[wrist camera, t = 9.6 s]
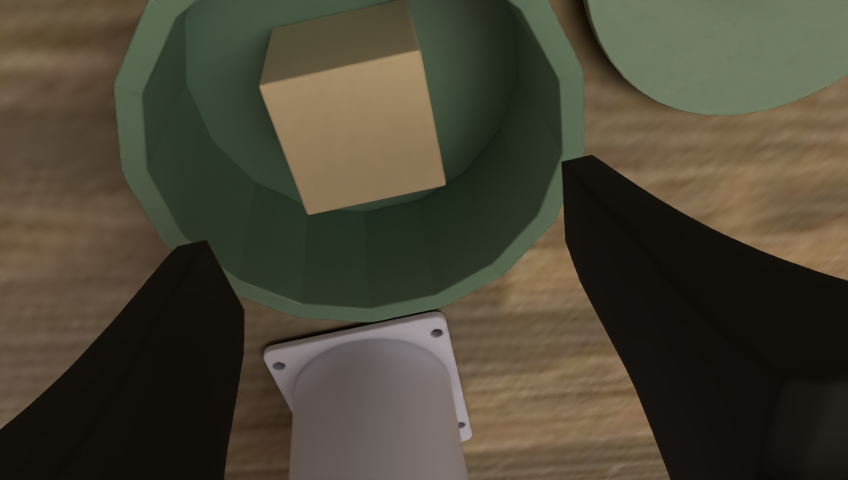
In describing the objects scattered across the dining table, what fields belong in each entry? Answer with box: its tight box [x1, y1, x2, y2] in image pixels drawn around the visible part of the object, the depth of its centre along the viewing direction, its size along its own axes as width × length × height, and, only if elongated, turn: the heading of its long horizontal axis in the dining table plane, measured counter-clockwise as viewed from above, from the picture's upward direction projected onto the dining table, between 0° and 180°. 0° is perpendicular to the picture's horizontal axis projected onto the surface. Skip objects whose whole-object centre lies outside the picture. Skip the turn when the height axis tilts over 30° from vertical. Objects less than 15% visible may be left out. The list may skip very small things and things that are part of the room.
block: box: [259, 0, 446, 215], centre depth 17 cm, size 4×4×4 cm
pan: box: [113, 0, 585, 322], centre depth 17 cm, size 11×11×6 cm
